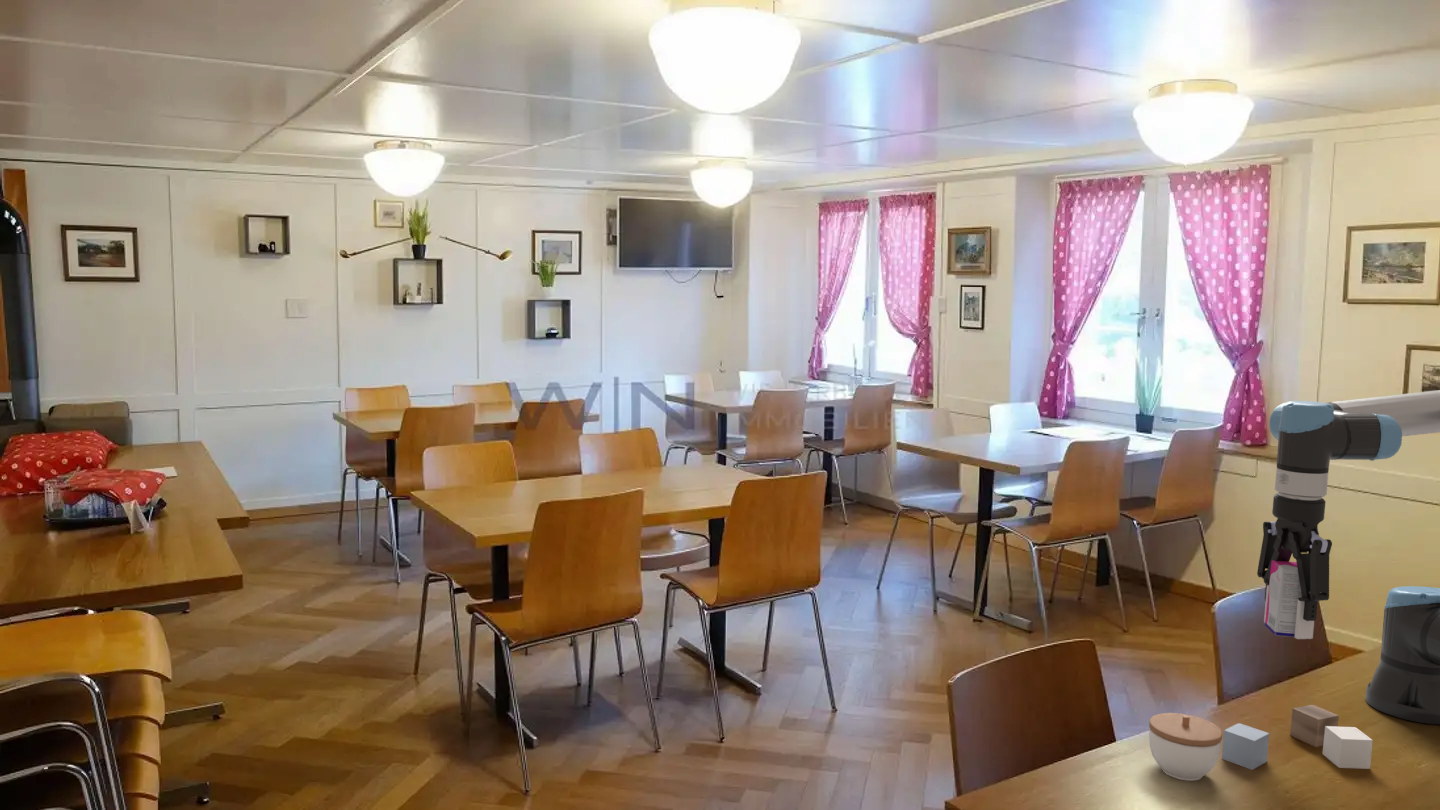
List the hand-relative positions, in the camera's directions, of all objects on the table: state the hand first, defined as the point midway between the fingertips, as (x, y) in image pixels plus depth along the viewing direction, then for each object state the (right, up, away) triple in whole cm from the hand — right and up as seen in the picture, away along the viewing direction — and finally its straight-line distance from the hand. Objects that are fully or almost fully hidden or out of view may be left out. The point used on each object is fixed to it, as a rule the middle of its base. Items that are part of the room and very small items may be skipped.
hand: (1287, 630), depth 176 cm
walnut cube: (+8, -21, +7) cm, 23 cm away
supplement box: (0, 0, 0) cm, 0 cm away
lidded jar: (-20, -22, -6) cm, 30 cm away
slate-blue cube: (-8, -21, -2) cm, 23 cm away
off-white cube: (+9, -22, -1) cm, 23 cm away
